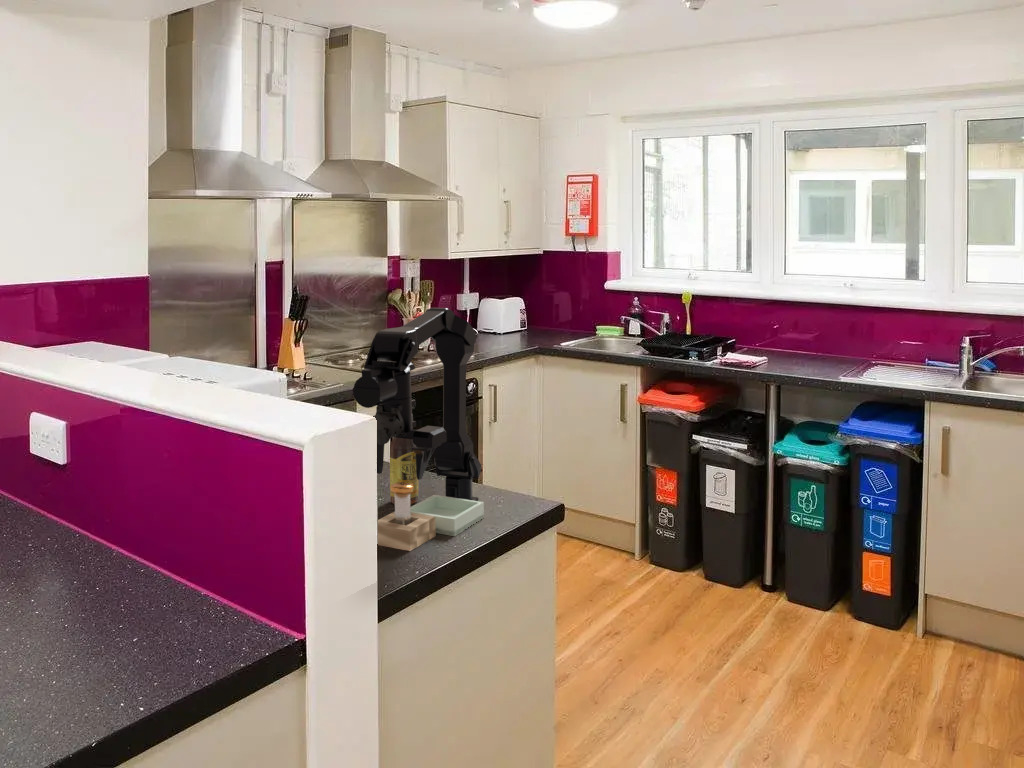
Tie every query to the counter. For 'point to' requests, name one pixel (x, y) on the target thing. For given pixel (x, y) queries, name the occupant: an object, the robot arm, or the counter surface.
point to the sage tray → (450, 513)
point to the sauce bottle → (403, 465)
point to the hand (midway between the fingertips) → (399, 476)
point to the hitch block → (406, 531)
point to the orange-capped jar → (402, 502)
